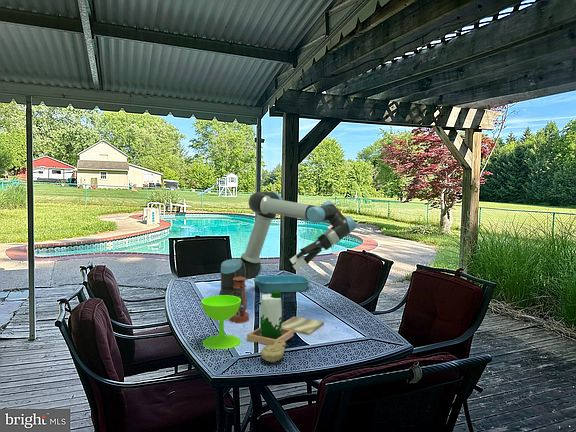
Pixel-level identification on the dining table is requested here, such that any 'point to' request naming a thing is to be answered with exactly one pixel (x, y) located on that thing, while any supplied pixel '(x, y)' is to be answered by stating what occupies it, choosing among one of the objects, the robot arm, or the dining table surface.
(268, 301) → the green white milk carton
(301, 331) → the board
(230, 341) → the wineglass
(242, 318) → the lantern
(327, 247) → the robot arm
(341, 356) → the dining table surface
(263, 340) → the holder
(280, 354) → the oil lamp
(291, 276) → the casserole dish
